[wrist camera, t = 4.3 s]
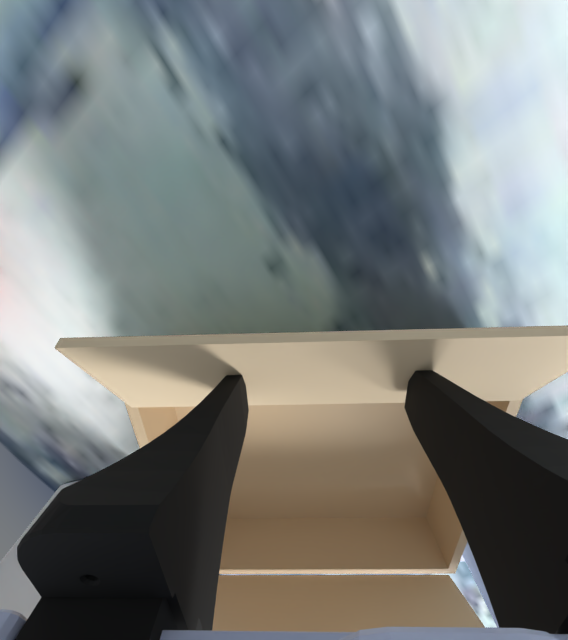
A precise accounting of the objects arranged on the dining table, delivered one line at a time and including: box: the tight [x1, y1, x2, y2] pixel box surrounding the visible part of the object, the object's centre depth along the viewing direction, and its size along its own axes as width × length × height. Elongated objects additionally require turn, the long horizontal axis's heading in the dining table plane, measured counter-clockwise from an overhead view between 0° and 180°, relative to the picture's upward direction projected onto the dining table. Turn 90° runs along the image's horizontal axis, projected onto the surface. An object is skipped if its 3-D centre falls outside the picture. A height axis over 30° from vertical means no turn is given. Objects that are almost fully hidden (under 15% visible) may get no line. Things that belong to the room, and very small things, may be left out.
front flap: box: [55, 326, 568, 408], centre depth 11 cm, size 19×6×1 cm, turn 92°
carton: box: [125, 399, 523, 574], centre depth 19 cm, size 20×17×4 cm
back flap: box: [212, 575, 485, 632], centre depth 17 cm, size 19×6×1 cm
